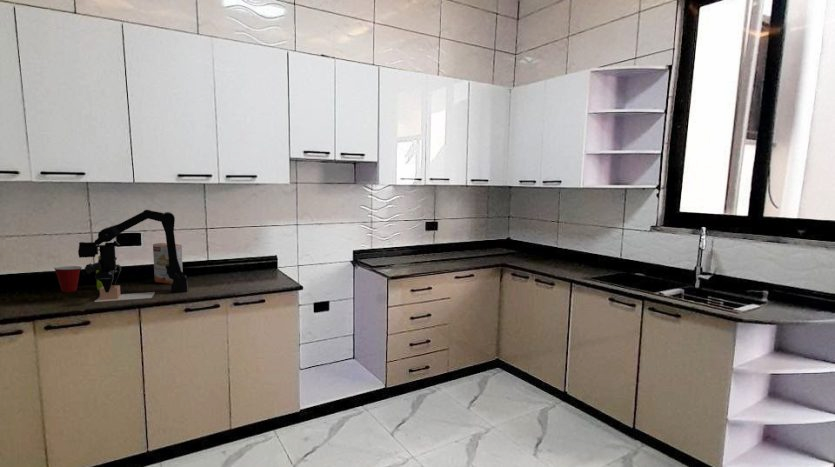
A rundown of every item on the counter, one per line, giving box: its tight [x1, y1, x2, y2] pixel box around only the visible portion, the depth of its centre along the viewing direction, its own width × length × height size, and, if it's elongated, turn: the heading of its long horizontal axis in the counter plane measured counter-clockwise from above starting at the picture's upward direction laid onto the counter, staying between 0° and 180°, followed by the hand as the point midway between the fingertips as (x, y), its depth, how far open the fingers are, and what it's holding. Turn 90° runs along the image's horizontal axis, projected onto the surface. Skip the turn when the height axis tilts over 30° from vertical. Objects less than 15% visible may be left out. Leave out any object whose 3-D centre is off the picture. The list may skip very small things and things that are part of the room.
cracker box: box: [152, 242, 184, 285], centre depth 235 cm, size 14×6×21 cm, turn 72°
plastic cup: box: [53, 265, 83, 293], centre depth 215 cm, size 11×11×12 cm
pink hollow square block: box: [99, 284, 121, 300], centre depth 201 cm, size 7×6×5 cm
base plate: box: [94, 291, 156, 303], centre depth 204 cm, size 22×11×1 cm, turn 113°
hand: (109, 289), depth 201 cm, fingers open, 9 cm apart
